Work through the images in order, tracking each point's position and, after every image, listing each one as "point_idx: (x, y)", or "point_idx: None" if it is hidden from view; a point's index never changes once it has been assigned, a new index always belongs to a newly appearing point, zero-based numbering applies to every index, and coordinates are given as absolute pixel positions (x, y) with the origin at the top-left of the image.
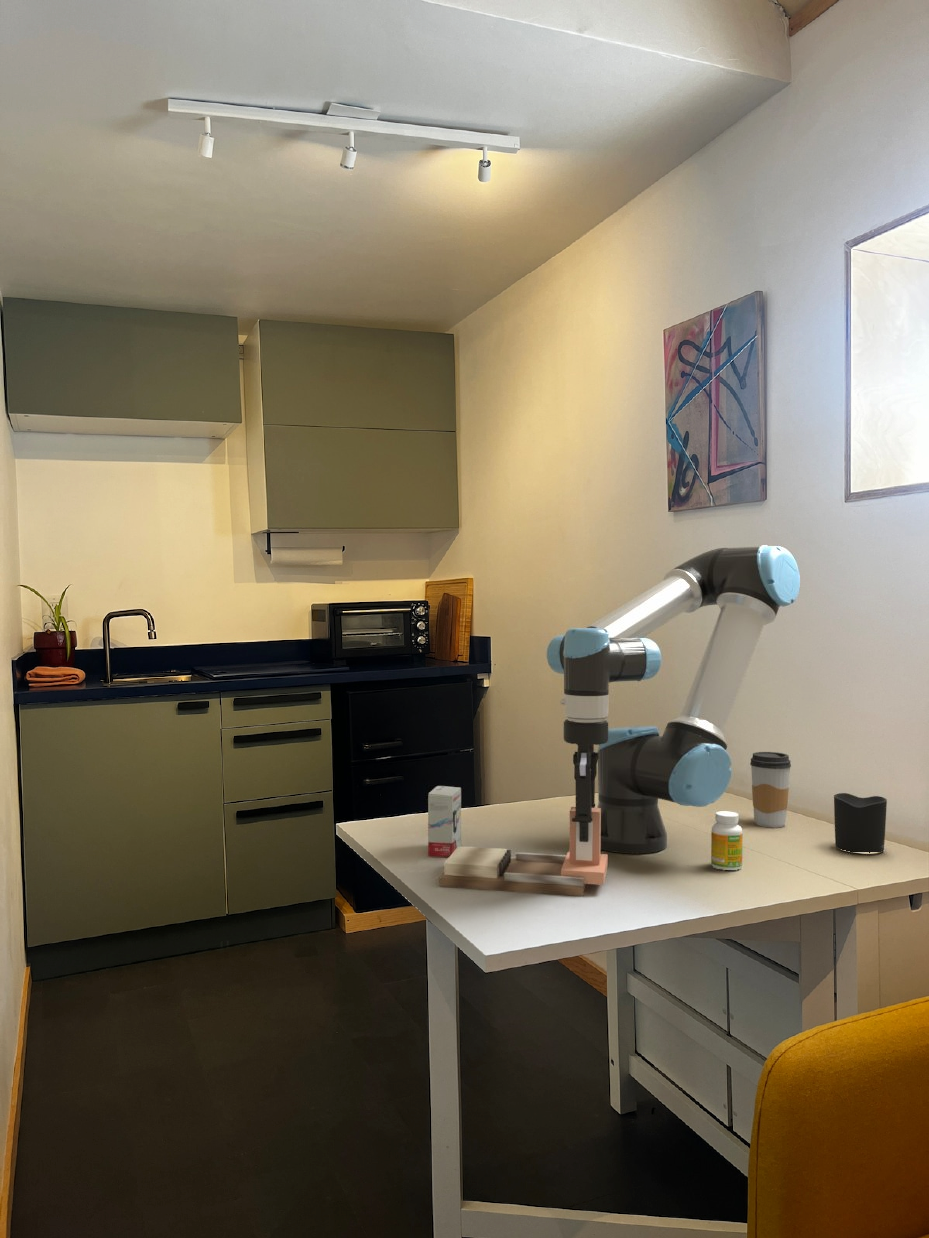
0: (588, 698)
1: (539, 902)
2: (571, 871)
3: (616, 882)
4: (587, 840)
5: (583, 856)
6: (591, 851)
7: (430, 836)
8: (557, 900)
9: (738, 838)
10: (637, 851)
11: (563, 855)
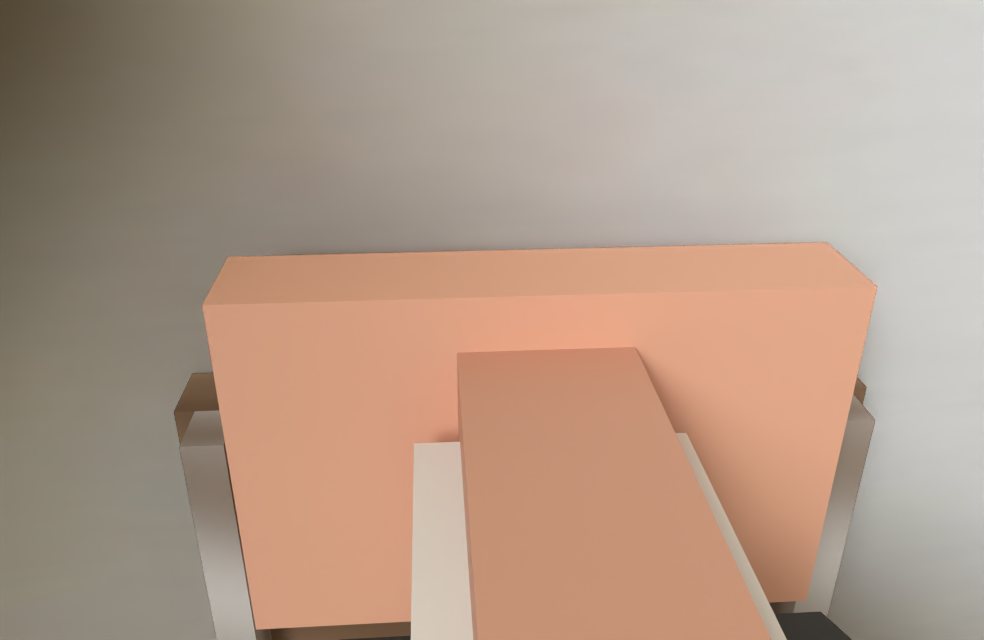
0: None
1: (959, 563)
2: (820, 529)
3: (445, 133)
4: (841, 631)
5: None
6: (716, 497)
7: None
8: (924, 482)
9: None
10: None
11: (225, 626)
